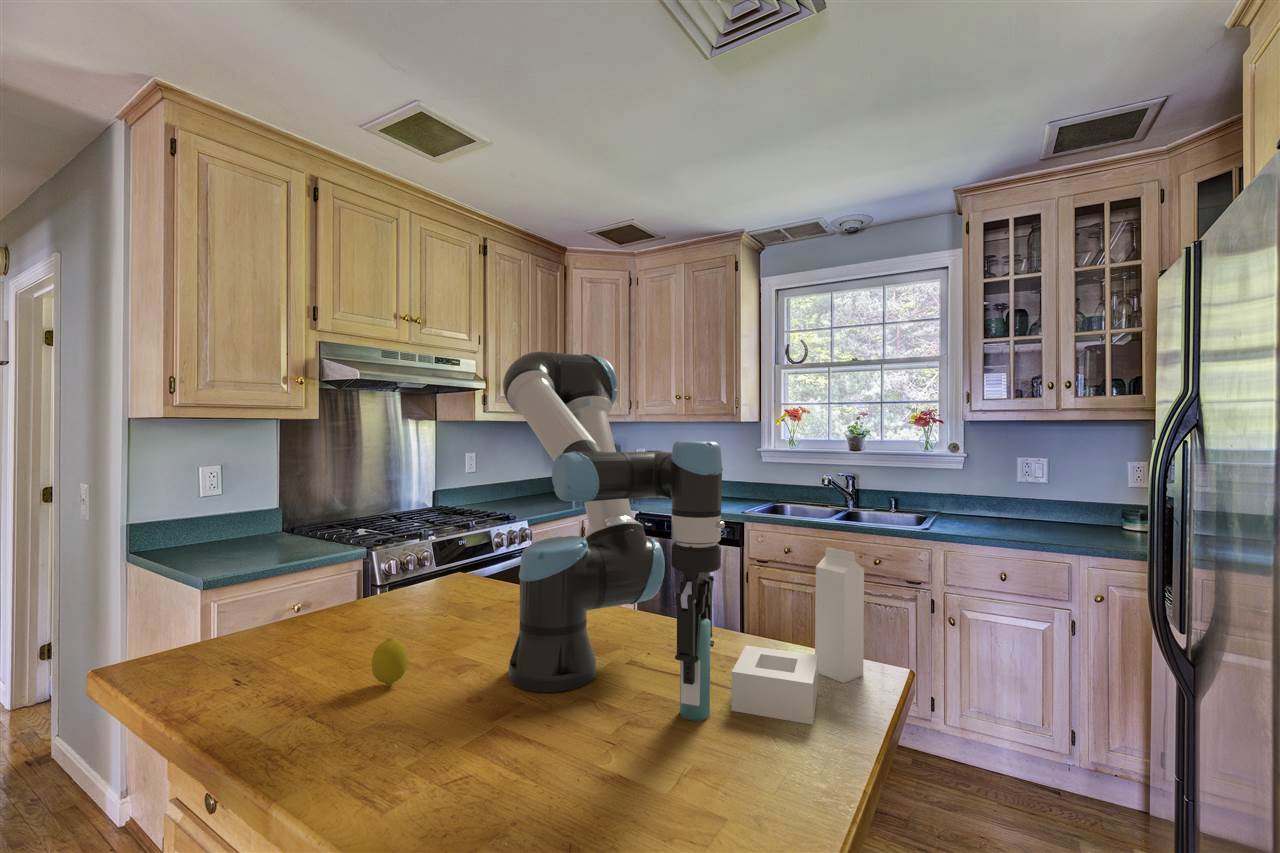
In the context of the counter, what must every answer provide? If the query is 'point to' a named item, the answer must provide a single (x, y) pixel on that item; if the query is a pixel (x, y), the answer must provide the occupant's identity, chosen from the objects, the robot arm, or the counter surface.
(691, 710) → the peg
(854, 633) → the milk
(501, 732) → the counter surface
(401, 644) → the lemon
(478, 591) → the counter surface
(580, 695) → the counter surface
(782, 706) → the socket
